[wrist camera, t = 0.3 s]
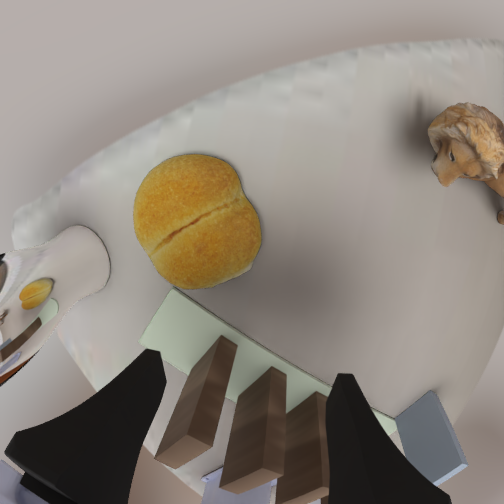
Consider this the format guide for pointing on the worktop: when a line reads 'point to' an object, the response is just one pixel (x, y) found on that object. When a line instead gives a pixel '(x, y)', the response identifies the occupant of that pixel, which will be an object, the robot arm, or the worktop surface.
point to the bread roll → (196, 222)
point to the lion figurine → (469, 147)
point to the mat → (246, 359)
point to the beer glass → (45, 291)
